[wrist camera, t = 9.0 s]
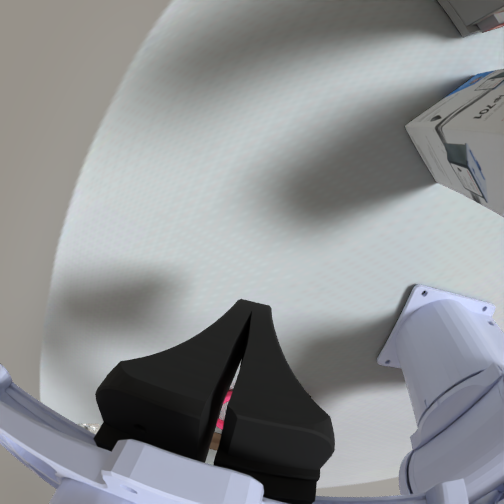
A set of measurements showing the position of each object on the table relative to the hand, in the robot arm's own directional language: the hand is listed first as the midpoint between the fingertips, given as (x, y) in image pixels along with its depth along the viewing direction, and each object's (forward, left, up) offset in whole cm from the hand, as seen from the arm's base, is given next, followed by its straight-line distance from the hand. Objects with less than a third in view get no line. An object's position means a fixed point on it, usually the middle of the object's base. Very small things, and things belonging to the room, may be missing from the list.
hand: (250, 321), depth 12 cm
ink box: (-11, -12, -10) cm, 19 cm away
